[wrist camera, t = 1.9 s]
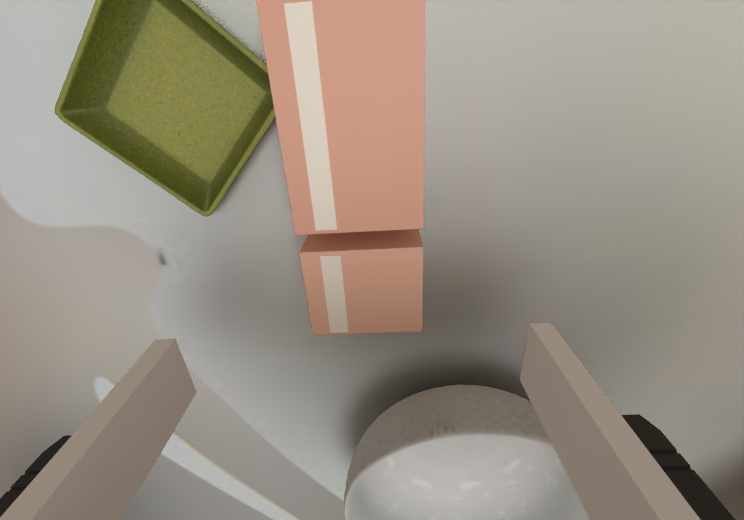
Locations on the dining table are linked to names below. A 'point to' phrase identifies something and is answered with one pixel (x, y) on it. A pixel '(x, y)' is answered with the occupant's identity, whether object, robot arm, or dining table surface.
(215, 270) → the dining table surface
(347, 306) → the pink box
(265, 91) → the green square tray
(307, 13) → the pink striped box
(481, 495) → the cereal bowl
